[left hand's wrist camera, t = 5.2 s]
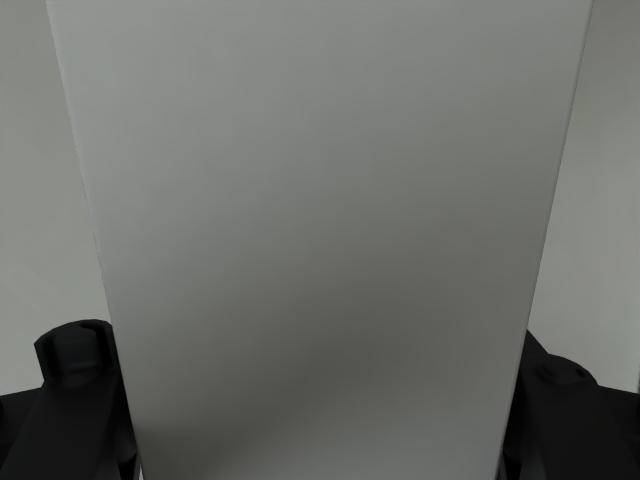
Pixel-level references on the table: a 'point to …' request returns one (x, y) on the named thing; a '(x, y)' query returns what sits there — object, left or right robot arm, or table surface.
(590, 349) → the table surface
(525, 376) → the left robot arm
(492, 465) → the bar
